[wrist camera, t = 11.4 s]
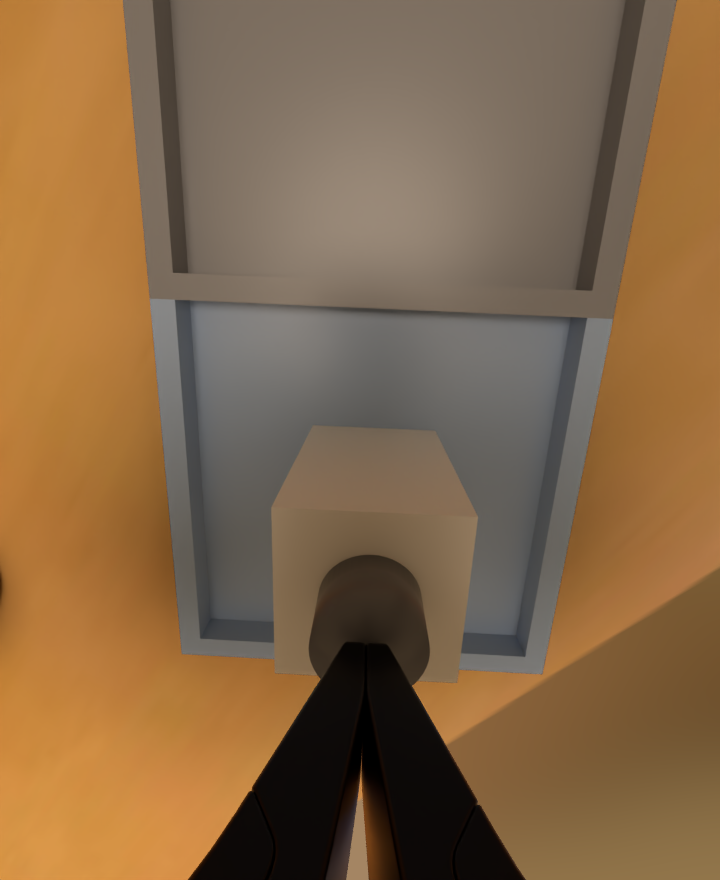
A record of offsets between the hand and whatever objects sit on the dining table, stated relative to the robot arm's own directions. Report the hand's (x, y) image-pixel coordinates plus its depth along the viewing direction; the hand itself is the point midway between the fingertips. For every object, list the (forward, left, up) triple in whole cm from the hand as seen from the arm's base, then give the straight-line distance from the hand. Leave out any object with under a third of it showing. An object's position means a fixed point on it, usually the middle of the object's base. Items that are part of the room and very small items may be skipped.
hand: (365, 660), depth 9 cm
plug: (0, 0, -9) cm, 9 cm away
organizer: (0, -7, -9) cm, 12 cm away
